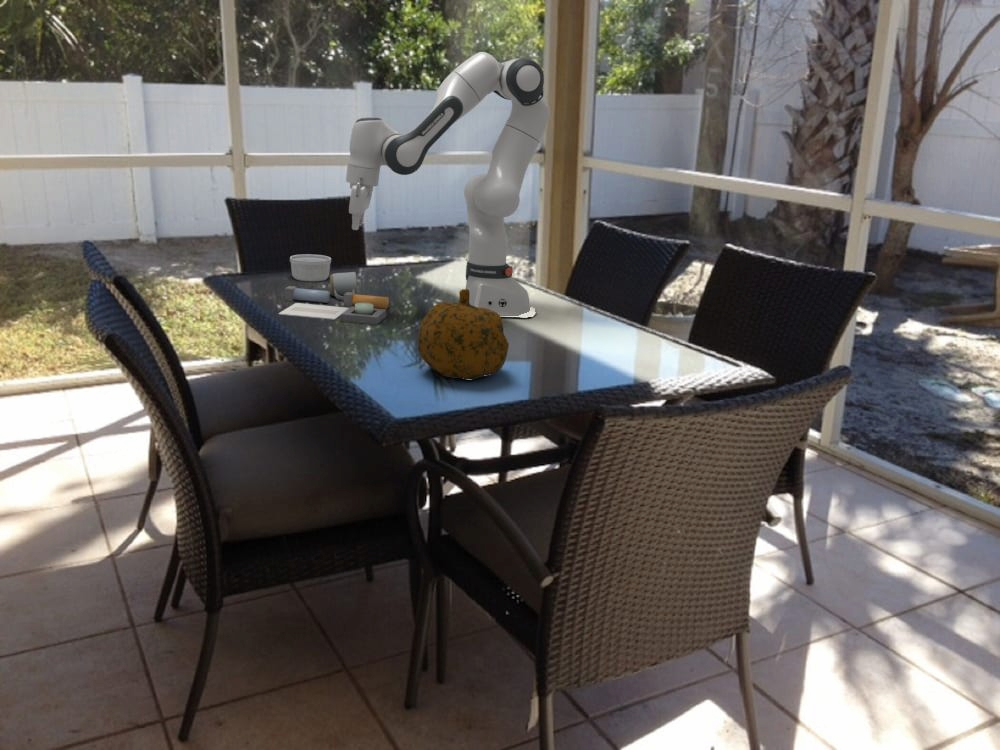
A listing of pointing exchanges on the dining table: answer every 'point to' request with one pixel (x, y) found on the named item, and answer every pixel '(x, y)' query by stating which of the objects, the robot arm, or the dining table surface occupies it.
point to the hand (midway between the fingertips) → (356, 227)
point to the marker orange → (365, 300)
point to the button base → (363, 316)
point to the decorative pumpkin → (462, 339)
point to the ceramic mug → (343, 284)
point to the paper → (314, 311)
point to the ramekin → (310, 267)
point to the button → (364, 308)
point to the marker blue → (306, 295)
